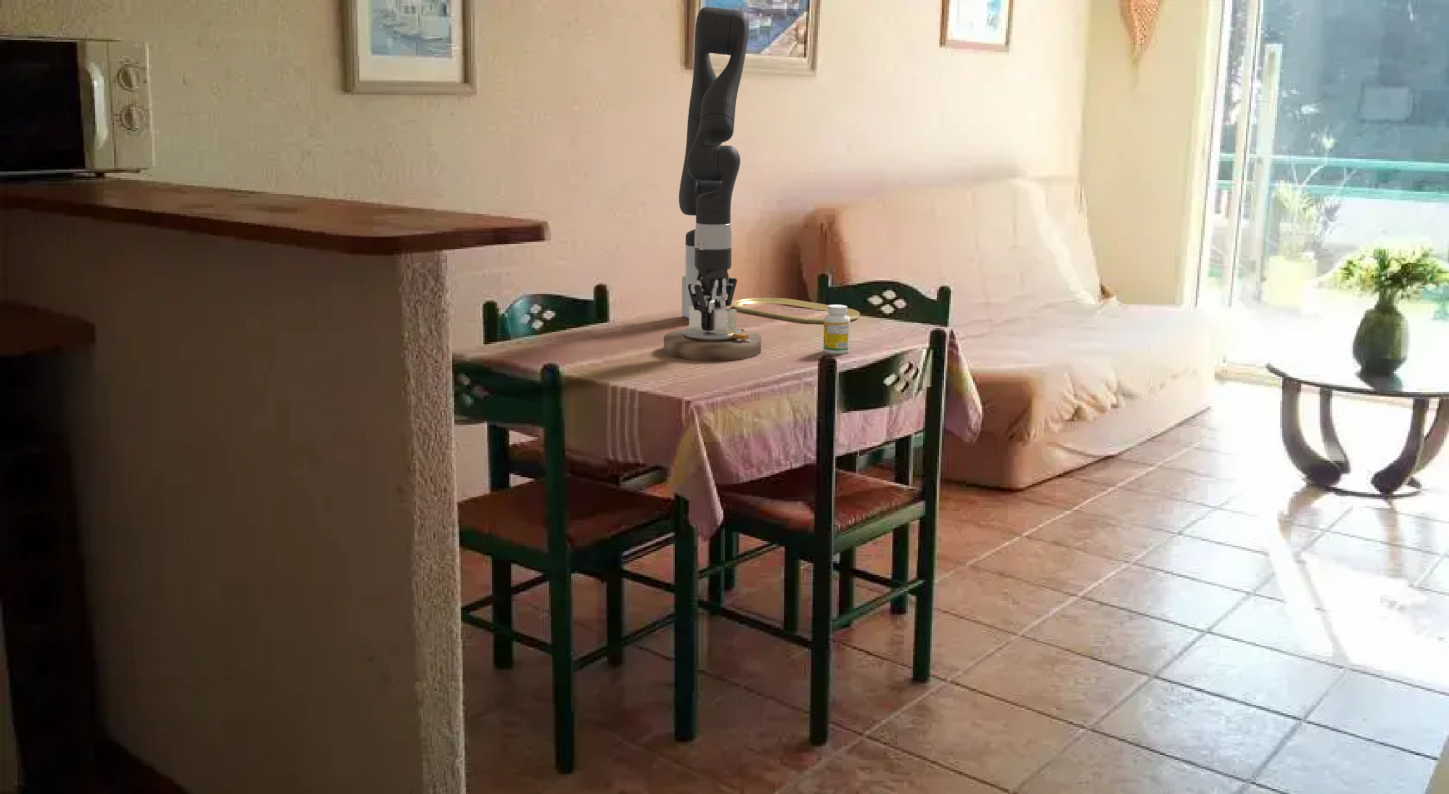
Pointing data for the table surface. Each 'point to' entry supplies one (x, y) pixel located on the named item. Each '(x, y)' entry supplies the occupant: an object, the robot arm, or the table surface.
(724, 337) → the butter block on plate
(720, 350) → the base
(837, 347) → the supplement bottle
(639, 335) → the table surface
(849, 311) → the gold oval frame
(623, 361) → the table surface
